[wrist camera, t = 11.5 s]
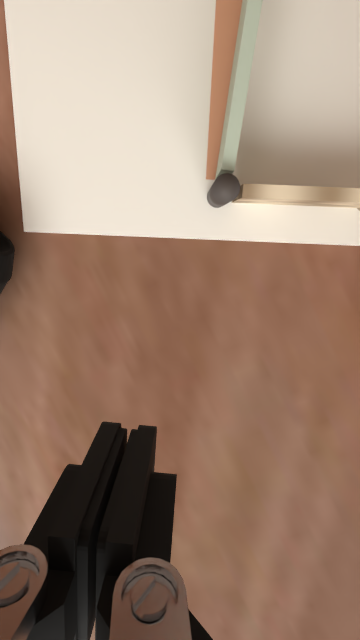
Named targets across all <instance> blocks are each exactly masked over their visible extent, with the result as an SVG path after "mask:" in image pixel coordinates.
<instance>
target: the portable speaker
mask: <svg viewBox="0 0 360 640" xmlns="http://www.w3.org/2000/svg"><path fill="white" fill-rule="evenodd" d="M14 251H15V250H14V246H13V244H12V243H11V241H10V240H9V239H8V238H7V237H6V236H5V235H4V234H3V233H2V232H0V294H1V292H2V290H3V289H4V287H5V285H6V284H7V282H8V281H9V280H10V278H11V276H12V269H13V260H14Z"/></svg>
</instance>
